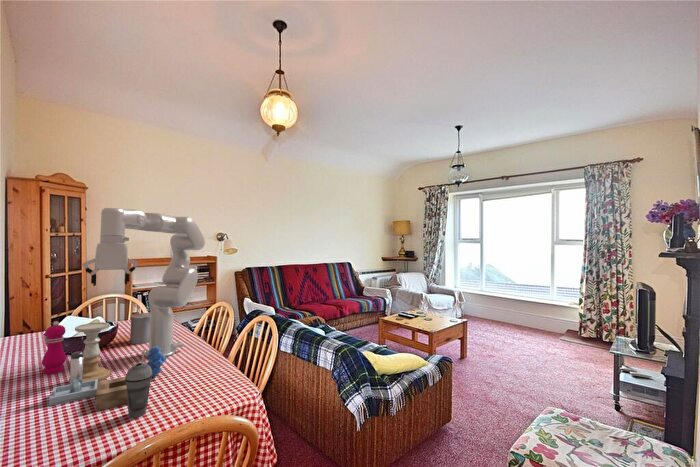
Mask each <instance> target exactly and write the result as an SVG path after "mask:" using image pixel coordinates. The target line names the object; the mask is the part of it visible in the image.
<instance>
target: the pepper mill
mask: <svg viewBox="0 0 700 467" xmlns="http://www.w3.org/2000/svg"><path fill="white" fill-rule="evenodd" d="M59 323H60V322H59V321H57V320H56V321H54V322H52V325H51V326H49V327H47V328H46V330H45V332H44V335H45V337H46V343H47V348H46V349H47V350H46V352H45V353H44V356H43V357H42V359H41V365H42V367H43V368H42V374H43V375H48V376H49V375H56V374H59V373H62V372H63V371H64V370H65V364H64V363H66V361H67V355H66V352H65V351H64V349H63V341H64V335H65V334H66V327H65V326H64V325H61V324H59Z"/></svg>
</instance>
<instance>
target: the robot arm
mask: <svg viewBox="0 0 700 467" xmlns="http://www.w3.org/2000/svg"><path fill="white" fill-rule="evenodd" d="M100 217H101V218H100V234H99V236H100V237H99V238H100V239H99V240H100V241H99V243H97V245H96V248H95V257H94V258H92V259H90V260H87V261H85V262H83V263H82V264H81V265H82V268H84V270H85V272H87V273H88V274H89V275H90V276H91V277H90V278H91V279H90V283H91V284H92V285H93V287H95V286H96V285H97V273H98V272H99V271H110V270H113V271H114V270H115V271H117V270H123V271H124V272H125V273H124V285H128V283H129V282H130V276H131V275H130V274H131V273H133V272H134V271H135V270H136V268H137V267H138V265H139V264H140V263H139V262H138V261H137V260H133V259H131V258H129V257H128V256H129V255H128V245H127V243H125V242H129V241H130V237H127V236H126V235H125V234H126V230H134V231H135V230H137V231H145V232H154V233H162V234H163V233H164V234H173V235H172V236H171V237H170V239H169V240H170V241H169V243H170V248H171V251H172V252H171V253H172V258H171V260H170V262H169V264H168V266H167V268H166V270H165V271H164V273H163V275H162V278H161V280H162V283H163V285H159V286H155V287H153V288H152V289H151V290H150V291H149V293H148V295H147V296H148V298H147V300H148V306H149V313H150V334H149V342H148V350H147V351H146V350H145V353H144V358H145V357H146V358H148V357H147V356H148V354H149V353H150V352H149V351H150V349H151V348H152V347H159V348H160V349H161V351H160V352H161V353H162V354H163V356H165V357H166V358H167V357H169V356H172V355H174V354H175V353H176V352H177V349H178V348H184V342H174V341H173V340H174V339H173V336H174V312H173V309H175V308H176V309H178V308H183V307H185V306H186V305H187V304H188V302H189V300H190V299H191V296H192V294H193V292H194V290H195V287H196V286H197V284H198V279H199V274H198V271H197V270H196V269H195V268H193V267H189V266H190V264H191V258H190V256H189V254H188V252H187V251H200V250H202V249H204V247H205V244H206V240H205V236H204V235H203V233H202V230H200V228H199V226H198V224H197V223H196V221H195V220H194V219H193V218H192V217H190V216H176V215H175V216H174V215H169V214H164V213H163V214H162V213H158V212H144V211H141V210H139V209H124V208H123V209H122V208H117V207H114V208H113V207H104V208H102V209H101V212H100ZM128 263H129V264H132V267H130V268H128ZM91 264H94V269H93V270H92V269H91V268H90V266H89V265H91ZM172 308H173V309H172ZM148 359H149V358H148Z"/></svg>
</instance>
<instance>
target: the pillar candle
mask: <svg viewBox="0 0 700 467" xmlns="http://www.w3.org/2000/svg"><path fill="white" fill-rule="evenodd" d="M149 334H150V312H141V313H134V314H132V315H131V316H130V334H129V339H130V340H129V343H130V344H131V345H142V344H147V343H149Z"/></svg>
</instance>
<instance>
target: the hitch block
mask: <svg viewBox="0 0 700 467" xmlns="http://www.w3.org/2000/svg"><path fill="white" fill-rule="evenodd" d="M125 378H126V376H123V377H122V376H121V377H117V378H112V379H106V380H105V379H104V380H101V381H99V382H97V393H96V396H95V397H96V398H95V412H97V411H102V410H107V409H112V408H115V407H120V406H124V405H128V400H127V387H126V381H125Z"/></svg>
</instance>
